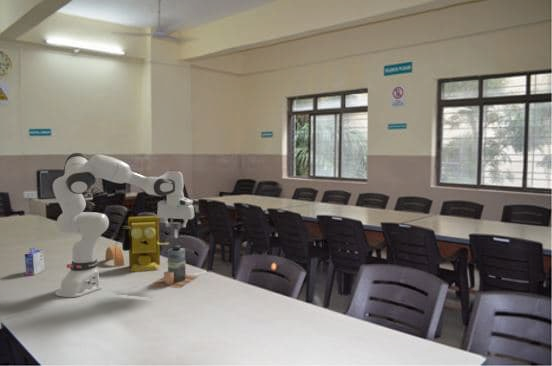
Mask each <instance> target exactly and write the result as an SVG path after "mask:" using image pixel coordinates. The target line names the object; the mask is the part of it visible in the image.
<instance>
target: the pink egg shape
mask: <svg viewBox="0 0 552 366" xmlns="http://www.w3.org/2000/svg"><path fill="white" fill-rule="evenodd" d="M163 277H164V285H173V284H174V272H173V271H168V270H167V271H165V272H163Z"/></svg>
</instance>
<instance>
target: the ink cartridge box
mask: <svg viewBox="0 0 552 366" xmlns="http://www.w3.org/2000/svg"><path fill="white" fill-rule="evenodd" d="M29 250H30V251H29V252H26V253H25V254H24V261H25V273H26V276H35V275H37V274H39V273H42V272H45V256H44V249H36V248H34V246H33V247H30V248H29Z"/></svg>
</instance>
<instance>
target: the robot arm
mask: <svg viewBox="0 0 552 366" xmlns="http://www.w3.org/2000/svg"><path fill="white" fill-rule="evenodd" d="M63 172H64V174H63V175H62V176H60V177H57V178H56V179H55V180H54V181H53V182H52V183H53V184H52V189H53V195H54V196H55V198H56V201H57V203H58V204H59V206H60V208H61V211H62V213H61V214H60V215H59V216H58V217H57V219H56V226H57V227H56V228H57V229H58V230H59V231H60V232H61V233H65V234H71V235H72V234H74V235H79V234H80V235H81V236H82V237H81V239H80V240H79V241H76V242H75V243H74V244H73V245H72V247H71V251H72V261H71V263H70V264H69V263H67V264H66V265H65V266H66V269H70V270H69V271H68V272H67V274H65V276H64V277H63V279H62V280H61V282H60V289H59V290H57V291H56V292H55V295H56V296H58V297H63V298H64V297H66V298H77V297H81V296H85V295H87V294H90V293H92V292H93V293H94V292H96V291H98V290H101V289H102V285H101V281H100V276H99V275H100V274H99V271H98V259H97V254H96V253H97V242H98V241H99V238H100V237H101V236H102V234H104V233H105V232H106V231H107V230H108V229H109V225H110V220H109V218H108V216H107V214H105V213H101V212H92V211H85V212H84V210H85V209H86V206H87V202H86V200H85V197H84V196H83V195H84V194H85V193H86V192H88V191H89V190H90V189H91V188H92V186H93V185H95V183H97V180H96V179H97V178H98V179H99V178H100V179H103V180H106V181H109V182H112V183H115V184H124V183H125V184H129V185H131V186H134V187H137V188H139V189H140V190H141V191H143V193H145V194H146V195H149V196H158V197H164V196H166V200H159V201H158V202H157V212H156V213H157V215H156V216H158V218H159V219H163V221H164V224H165V227H167V226H170V225H171V223H170V222H169V221H168V220H169V219H175V220H177V219H179V220H183V223H181V228H186V227H187V223H188V221H189V220H192V219H194V218H195V208H194V206H193V205H192V204H193V203H194V202H193V199H190V198H189V197H188V198H187V197H186V196H185V194H184V174H183V173H182V172H181V171H179V170H173V169H168V170H167V171H166V172H165V173H164V174H162V175H160V176H154V175H142V174H139V173H136V172H134V171H132V169H131V167H130V165H129V164H128V163H126V162H124V161H123V160H121V159H118V158H115V157H112V156H109V155H106V154H99V153H98V154H94V155H93V156H91V157H90V159H89V158H88V157H87V155H85V154H83V153H81V152H73V153H71V154H70V155H68V156H67V158H66V159H65V164H64V167H63Z"/></svg>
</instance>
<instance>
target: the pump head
mask: <svg viewBox="0 0 552 366" xmlns="http://www.w3.org/2000/svg"><path fill="white" fill-rule="evenodd" d="M181 229H182V222H178V221H176V222H175V221H174V222H171V223H170V226H166V230H174V239H178V237H179V235H178V233H179V232H178V231H179V230H181Z"/></svg>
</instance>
